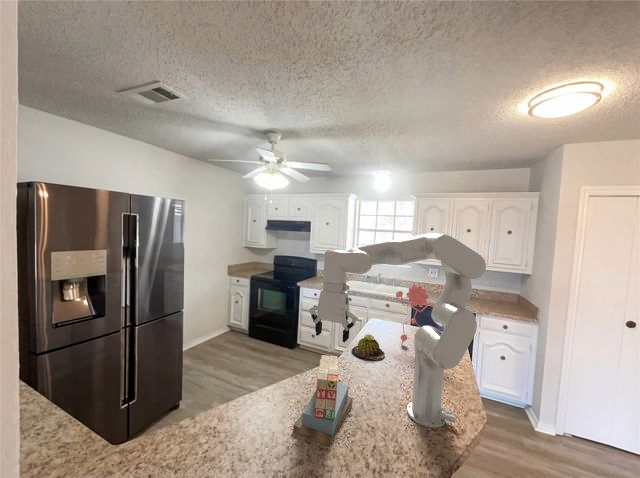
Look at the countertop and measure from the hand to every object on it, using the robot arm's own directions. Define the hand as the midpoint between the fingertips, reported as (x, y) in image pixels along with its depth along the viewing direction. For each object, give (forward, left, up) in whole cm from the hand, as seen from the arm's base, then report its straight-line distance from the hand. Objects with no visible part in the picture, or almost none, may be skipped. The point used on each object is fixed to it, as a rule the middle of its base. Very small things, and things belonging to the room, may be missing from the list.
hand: (331, 337), depth 89 cm
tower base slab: (+1, +1, -29) cm, 29 cm away
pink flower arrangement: (-19, -79, -29) cm, 86 cm away
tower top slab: (0, 0, -25) cm, 25 cm away
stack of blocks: (+1, 0, -21) cm, 21 cm away
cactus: (+2, -55, -29) cm, 62 cm away
